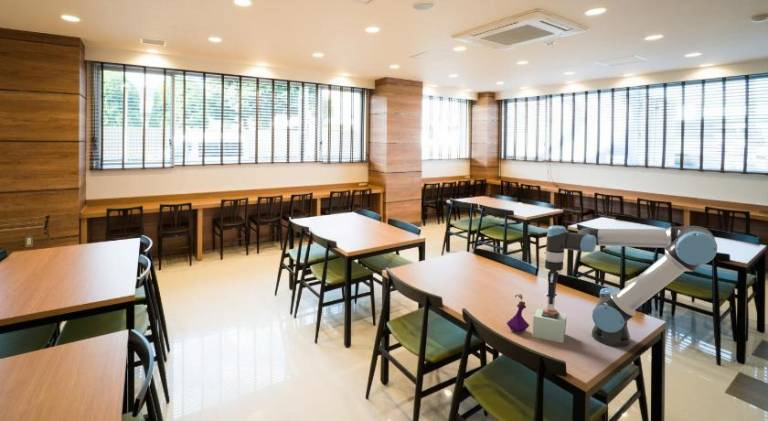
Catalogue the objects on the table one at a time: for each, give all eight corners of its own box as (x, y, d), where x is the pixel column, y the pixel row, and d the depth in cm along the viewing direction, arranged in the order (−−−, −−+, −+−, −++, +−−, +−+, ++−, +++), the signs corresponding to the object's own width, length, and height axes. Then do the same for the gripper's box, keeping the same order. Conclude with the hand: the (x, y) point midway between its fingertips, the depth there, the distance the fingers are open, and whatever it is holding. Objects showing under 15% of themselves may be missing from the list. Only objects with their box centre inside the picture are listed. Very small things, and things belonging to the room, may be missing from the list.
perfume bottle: (529, 331, 189) (531, 295, 186) (518, 335, 185) (520, 298, 182) (516, 325, 195) (518, 290, 192) (505, 329, 191) (507, 293, 188)
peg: (556, 329, 186) (558, 309, 184) (555, 334, 181) (556, 313, 179) (543, 327, 189) (545, 306, 187) (542, 331, 184) (543, 311, 182)
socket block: (565, 334, 186) (566, 312, 185) (563, 343, 178) (565, 320, 176) (535, 327, 193) (537, 307, 191) (532, 336, 184) (533, 314, 182)
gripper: (547, 255, 187) (543, 303, 191) (543, 262, 175) (539, 313, 179) (564, 257, 183) (560, 306, 187) (562, 265, 172) (557, 316, 176)
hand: (550, 309), depth 183 cm, fingers closed
